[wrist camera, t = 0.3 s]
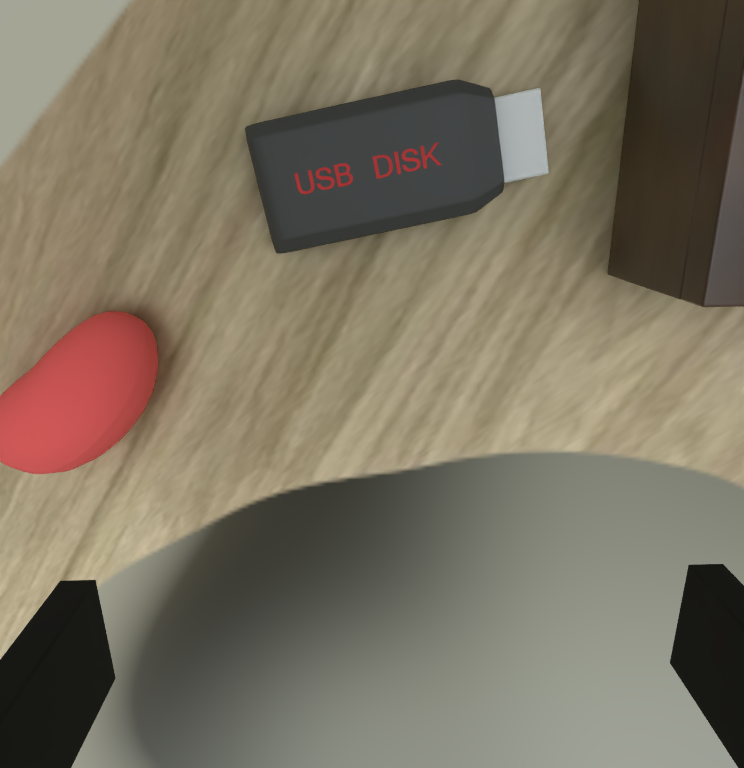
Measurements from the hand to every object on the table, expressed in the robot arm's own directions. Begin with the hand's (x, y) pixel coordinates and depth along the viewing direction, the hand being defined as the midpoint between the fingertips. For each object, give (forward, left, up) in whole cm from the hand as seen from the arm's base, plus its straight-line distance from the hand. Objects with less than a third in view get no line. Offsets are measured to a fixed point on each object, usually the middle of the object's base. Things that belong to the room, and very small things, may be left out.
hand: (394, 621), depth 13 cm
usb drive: (-10, +1, -17) cm, 20 cm away
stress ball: (0, -14, -17) cm, 22 cm away
